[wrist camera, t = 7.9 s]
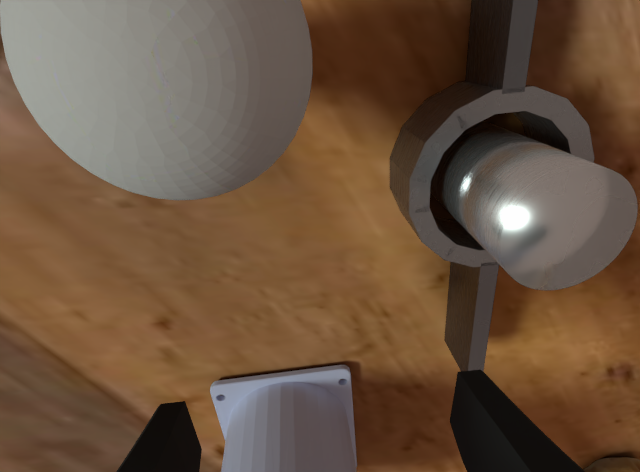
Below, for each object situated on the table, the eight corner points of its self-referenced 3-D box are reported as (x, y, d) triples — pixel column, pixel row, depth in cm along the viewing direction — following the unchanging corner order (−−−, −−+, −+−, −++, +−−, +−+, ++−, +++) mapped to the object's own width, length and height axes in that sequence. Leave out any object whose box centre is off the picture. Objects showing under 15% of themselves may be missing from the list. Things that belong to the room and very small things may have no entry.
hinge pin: (508, 198, 18) (622, 278, 12) (425, 212, 18) (496, 300, 12) (514, 113, 17) (652, 154, 10) (423, 128, 17) (505, 179, 10)
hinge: (511, 331, 22) (542, 371, 20) (390, 347, 22) (405, 389, 19) (599, -151, 13) (682, -202, 10) (388, -133, 13) (417, -182, 10)
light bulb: (256, -73, 13) (197, -322, 4) (323, 96, 16) (377, 169, 7) (106, 5, 14) (-230, -63, 5) (195, 155, 16) (88, 294, 7)
